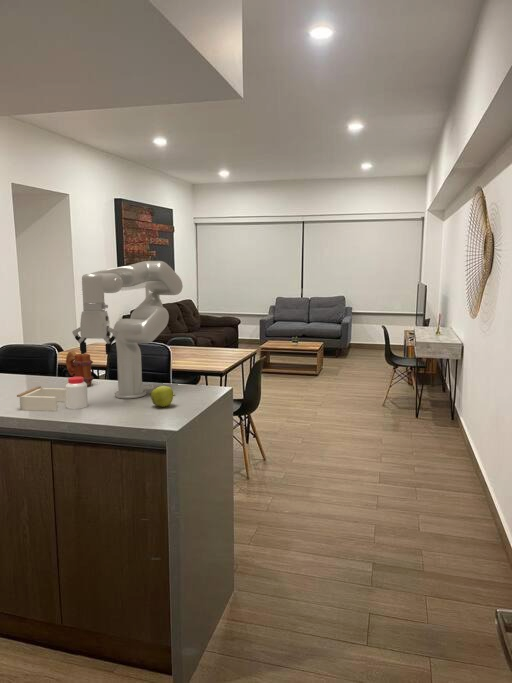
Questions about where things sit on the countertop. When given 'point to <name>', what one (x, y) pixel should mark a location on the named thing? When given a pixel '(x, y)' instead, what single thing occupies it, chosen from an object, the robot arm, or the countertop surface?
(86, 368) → the mug
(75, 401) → the pill bottle
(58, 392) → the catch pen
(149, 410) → the countertop surface
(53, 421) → the countertop surface
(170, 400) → the apple
